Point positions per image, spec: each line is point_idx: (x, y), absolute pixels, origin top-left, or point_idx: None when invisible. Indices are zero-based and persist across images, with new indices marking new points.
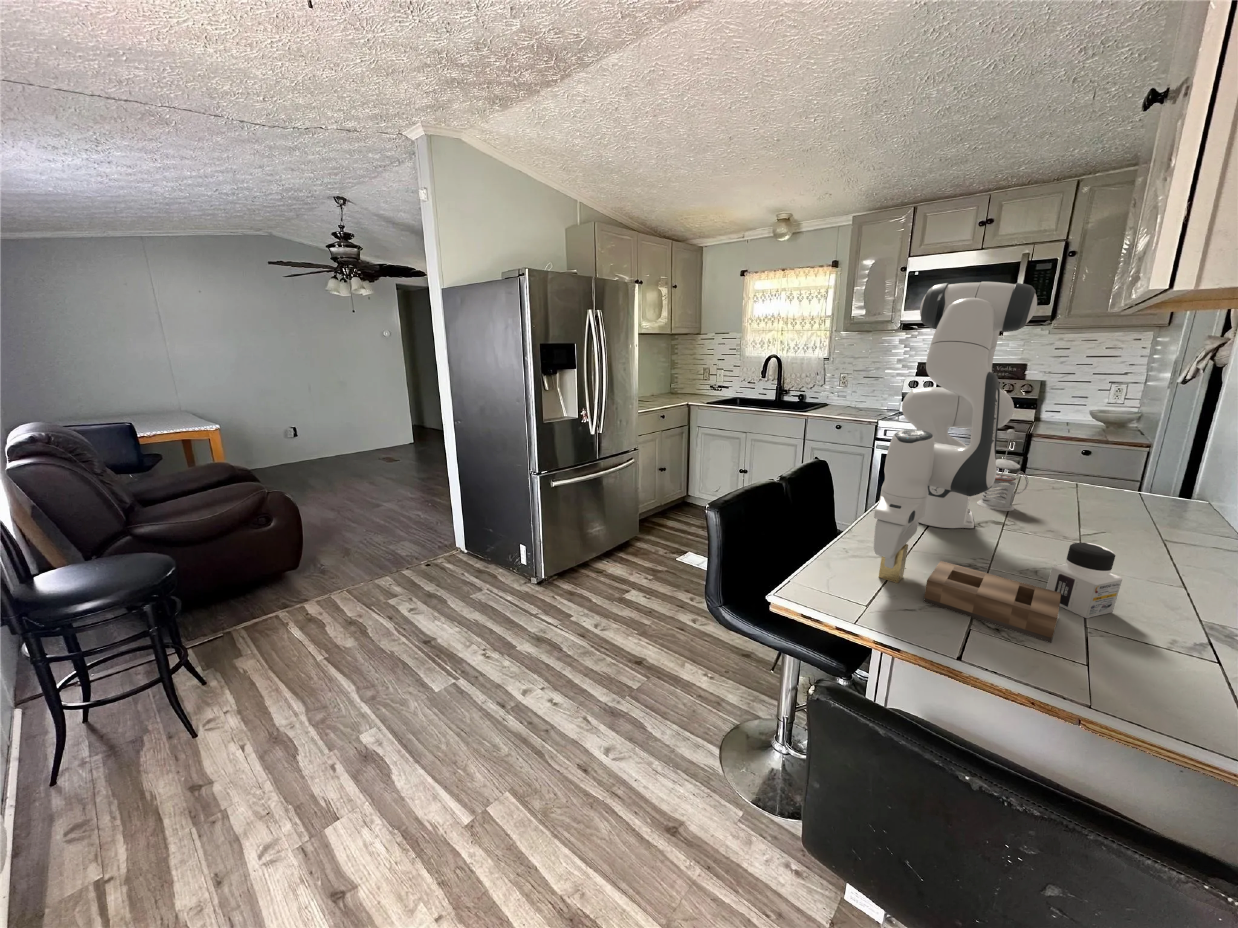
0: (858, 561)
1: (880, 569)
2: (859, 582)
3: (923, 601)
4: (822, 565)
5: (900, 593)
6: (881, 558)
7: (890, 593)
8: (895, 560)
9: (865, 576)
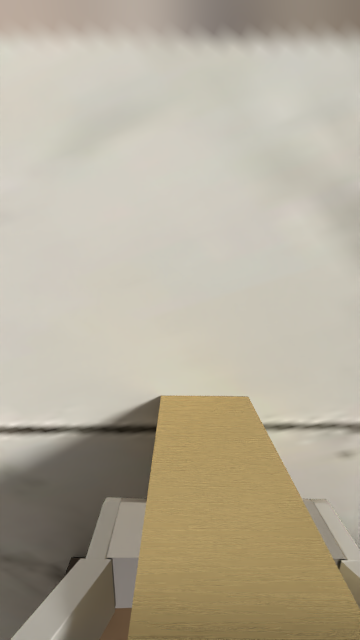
0: (292, 261)
1: (157, 428)
2: (35, 346)
3: (71, 559)
4: (76, 94)
5: (74, 493)
6: (148, 491)
7: (42, 468)
8: (130, 601)
9: (124, 348)
